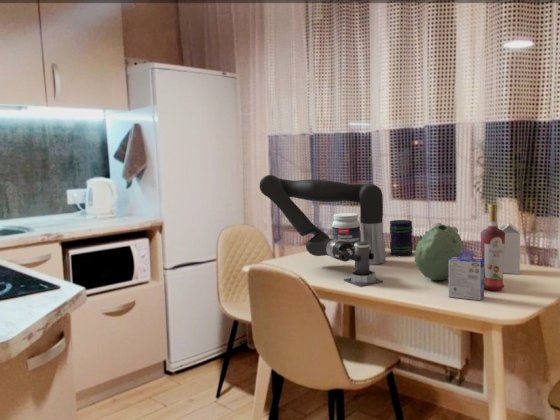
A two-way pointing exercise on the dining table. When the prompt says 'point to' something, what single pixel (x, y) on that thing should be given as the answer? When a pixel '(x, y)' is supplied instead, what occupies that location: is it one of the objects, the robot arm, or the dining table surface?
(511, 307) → the dining table surface
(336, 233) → the supplement tub
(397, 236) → the storage jar
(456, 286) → the ink cartridge box
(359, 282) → the grey ring on plate
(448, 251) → the green bumpy vase
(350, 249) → the robot arm
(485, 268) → the liquor
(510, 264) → the milk carton
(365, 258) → the tube
